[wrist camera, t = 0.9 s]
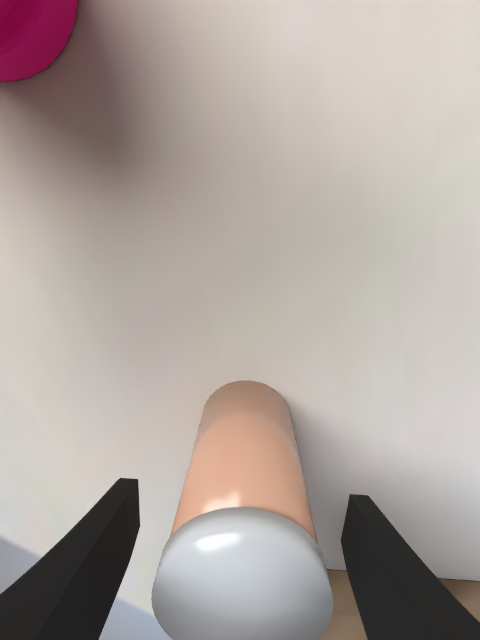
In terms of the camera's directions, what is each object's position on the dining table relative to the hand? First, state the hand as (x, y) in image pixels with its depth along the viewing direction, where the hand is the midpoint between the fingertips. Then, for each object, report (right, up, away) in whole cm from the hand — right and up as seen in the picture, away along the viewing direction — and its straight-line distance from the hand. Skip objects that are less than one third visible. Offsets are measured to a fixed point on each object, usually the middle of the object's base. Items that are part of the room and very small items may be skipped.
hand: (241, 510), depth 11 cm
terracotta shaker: (0, +1, +5) cm, 5 cm away
